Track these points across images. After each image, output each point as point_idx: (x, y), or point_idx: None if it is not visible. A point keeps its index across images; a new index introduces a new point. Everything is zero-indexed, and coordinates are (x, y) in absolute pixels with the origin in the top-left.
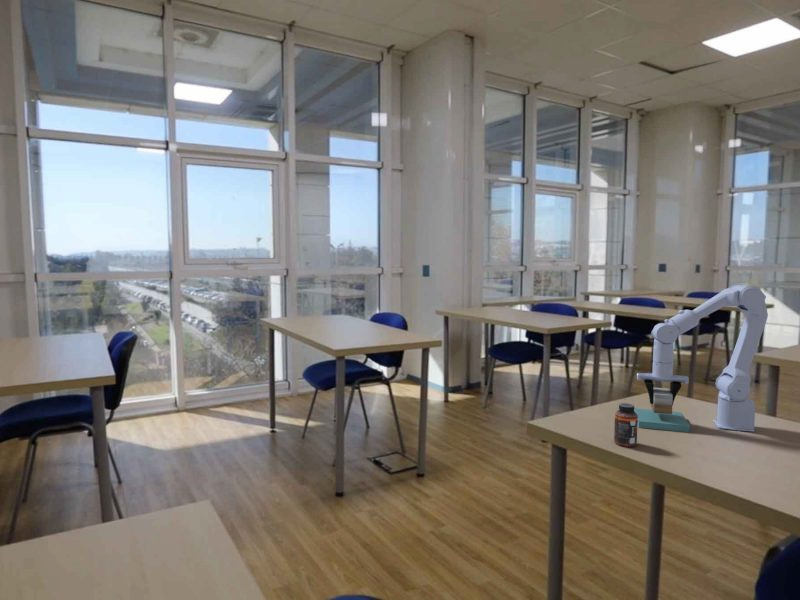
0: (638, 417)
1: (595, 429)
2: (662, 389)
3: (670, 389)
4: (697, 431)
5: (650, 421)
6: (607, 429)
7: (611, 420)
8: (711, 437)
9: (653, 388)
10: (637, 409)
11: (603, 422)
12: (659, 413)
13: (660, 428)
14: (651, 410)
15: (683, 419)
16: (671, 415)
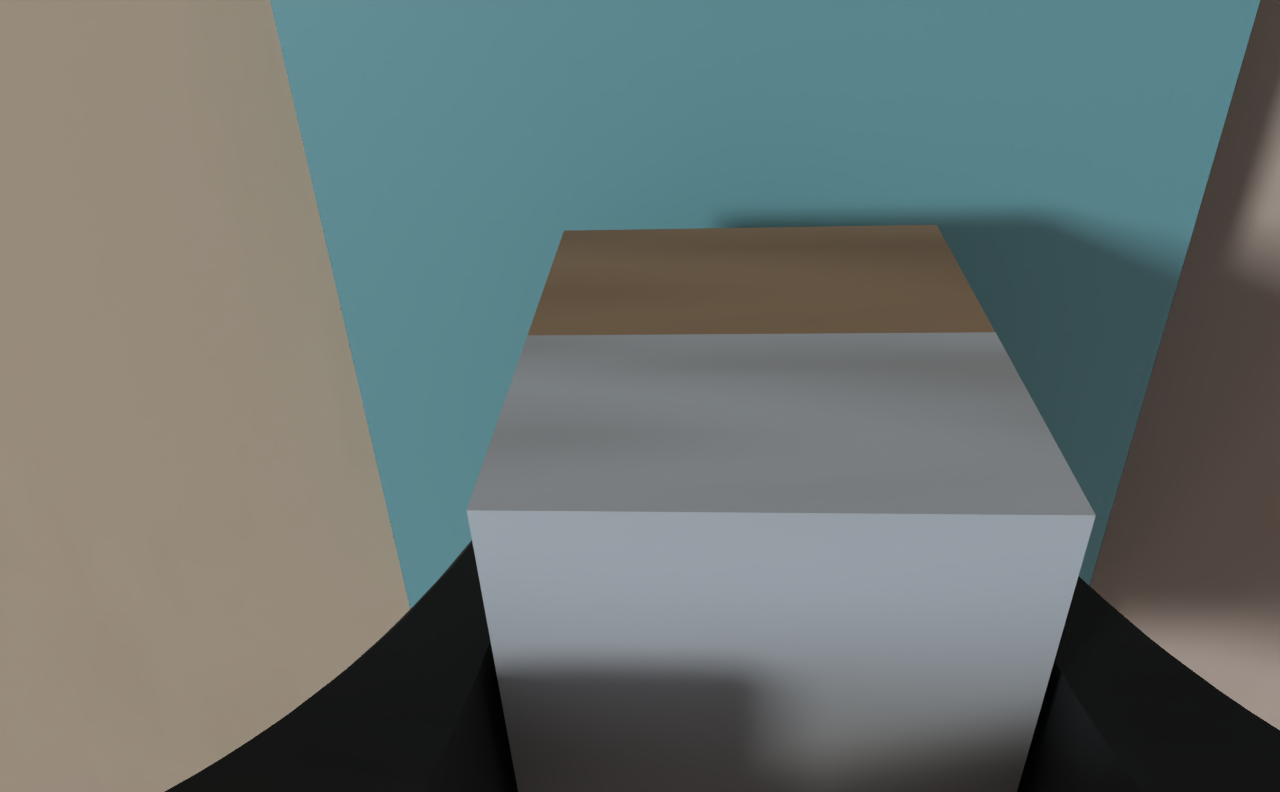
0: (400, 514)
1: (38, 732)
2: (824, 662)
3: (1076, 743)
4: (1165, 540)
5: None
6: (142, 708)
7: (75, 422)
8: (1238, 683)
9: (537, 616)
10: (332, 42)
11: (18, 522)
12: (750, 196)
13: None
14: (613, 19)
15: (1094, 425)
16: (955, 257)
